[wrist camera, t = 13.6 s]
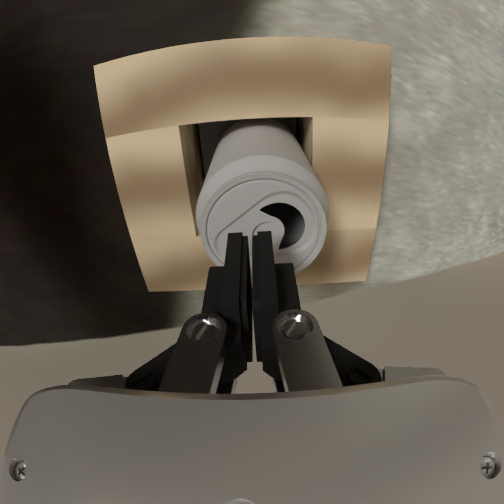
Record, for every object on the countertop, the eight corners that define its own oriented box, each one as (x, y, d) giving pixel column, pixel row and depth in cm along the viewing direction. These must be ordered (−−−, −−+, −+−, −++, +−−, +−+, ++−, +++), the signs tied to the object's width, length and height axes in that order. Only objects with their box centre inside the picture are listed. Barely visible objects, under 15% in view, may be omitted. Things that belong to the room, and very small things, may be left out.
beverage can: (309, 173, 24) (350, 263, 14) (238, 201, 26) (231, 304, 16) (279, 101, 21) (309, 140, 11) (202, 135, 22) (164, 203, 12)
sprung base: (199, 112, 22) (197, 115, 21) (294, 107, 22) (295, 108, 21) (209, 196, 26) (208, 200, 26) (295, 191, 26) (296, 196, 25)
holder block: (133, 62, 20) (93, 65, 14) (354, 47, 20) (390, 45, 14) (166, 243, 30) (148, 291, 25) (345, 234, 30) (366, 280, 24)
